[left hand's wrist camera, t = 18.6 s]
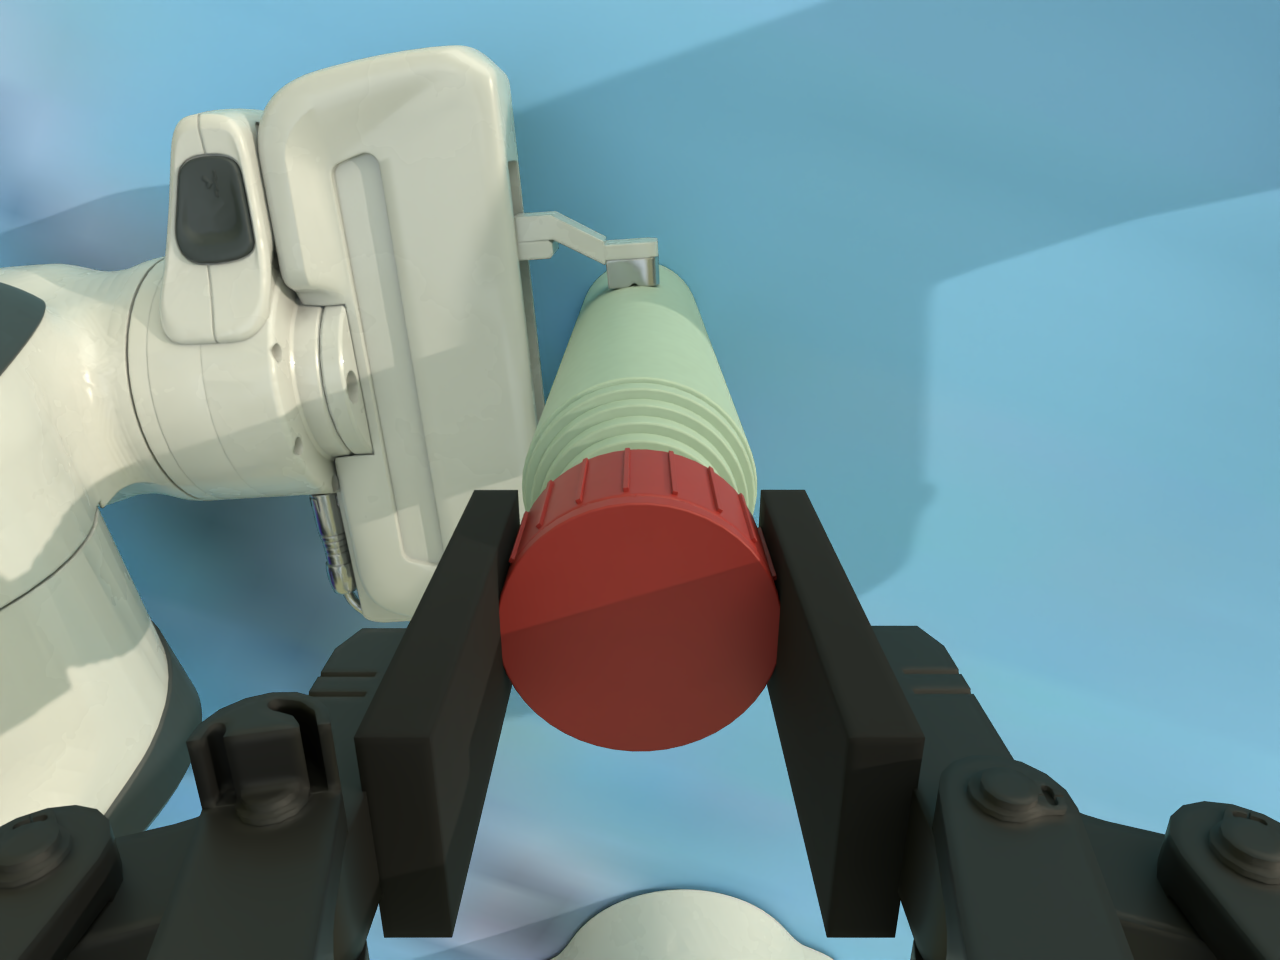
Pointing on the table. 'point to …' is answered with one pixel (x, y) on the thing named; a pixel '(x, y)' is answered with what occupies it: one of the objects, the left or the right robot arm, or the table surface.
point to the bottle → (639, 389)
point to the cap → (639, 603)
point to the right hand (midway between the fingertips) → (664, 350)
